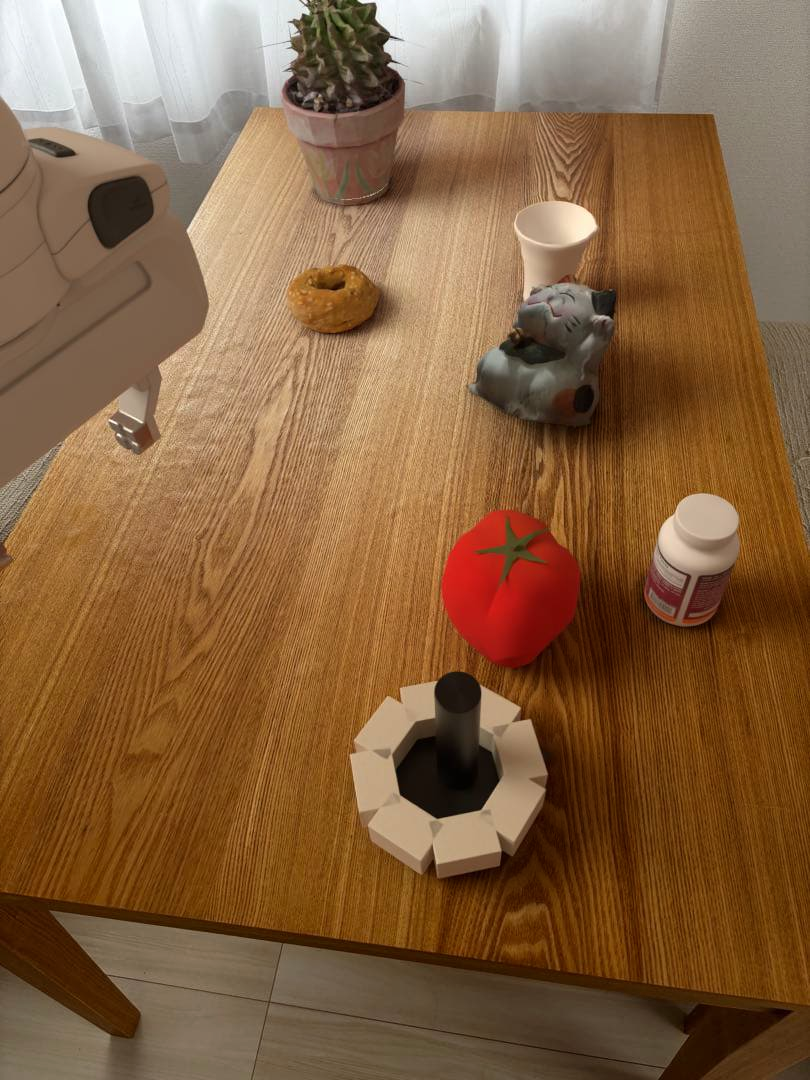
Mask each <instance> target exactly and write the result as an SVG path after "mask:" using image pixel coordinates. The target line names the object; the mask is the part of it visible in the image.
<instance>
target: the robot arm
mask: <svg viewBox="0 0 810 1080" xmlns="http://www.w3.org/2000/svg"><path fill="white" fill-rule="evenodd" d="M21 123H22V122H20V120H19V118H18V117H17V115H16V114H15V112H14V111H13V109H12V108H11V107H10V106H9V104H8V103H7V102H6V101H5V99H4V98H3V96H2V95H1V94H0V490H1V489H3V488H4V487H5V486H7V485H8V484H10V482H12V481H13V480H14V479H15V478H16V477H18V476H20V475H21V474H22V473H23V472H25V471H26V470H28V468H30V467H31V466H32V465H33V464H35V463H36V462H37V461H38V460H40V459H41V458H43V457H44V456H45V455H46V454H48V452H51V450H53V449H54V448H55V447H56V446H58V445H59V444H60V443H62V442H63V441H64V440H65V439H67V438H68V437H70V435H72V434H73V433H75V432H76V431H77V430H78V429H79V428H81V427H82V426H83V425H84V424H86V423H87V422H89V420H91V419H92V418H94V417H95V416H96V415H97V414H98V413H100V412H101V411H102V410H104V409H105V408H106V407H108V406H109V405H110V404H111V403H112V402H114V401H115V400H117V399H119V400H118V401H119V402H118V410H117V411H116V412H115V413H114V414H113V415H112V416H110V417H109V418H107V422H108V424H109V427H110V428H111V430H113V432H114V437H115V440H116V441H117V443H118V444H119V446H121V448H123V449H124V450H125V449H126V450H127V451H128V450H131V451H132V453H133V454H134V455H136V456H140V455H141V454H144V452H145V451H147V450H148V449H149V448H151V447H152V446H153V445H154V444H155V443H156V442H158V441H159V440H160V439H161V433H160V430H159V427H158V425H157V422H156V419H155V415H156V411H157V406H158V402H159V401H158V400H159V395H160V390H161V387H162V386H161V385H162V381H163V377H162V374H161V371H160V368H159V366H160V365H161V364H162V363H164V362H165V361H166V360H168V359H169V358H170V357H171V356H173V355H174V354H175V353H176V352H178V351H179V350H180V349H182V348H183V347H184V346H185V345H187V344H188V343H189V342H191V341H192V340H193V339H195V338H196V337H197V336H198V335H199V334H201V333H202V331H203V329H204V326H205V323H206V320H207V317H208V312H209V308H210V300H209V295H208V290H207V285H206V282H205V278H204V275H203V273H202V269H201V267H200V262H199V260H198V256H197V254H196V251H195V249H194V246H193V243H192V241H191V238H190V236H189V233H188V231H187V229H186V228H185V225H184V224H183V223H182V221H181V220H180V219H179V217H177V216H176V214H174V213H172V212H170V211H168V209H169V207H170V203H171V194H170V193H171V192H170V187H169V182H168V179H167V175H166V172H165V170H164V168H163V167H162V166H161V165H160V164H158V163H156V162H155V161H153V160H151V159H149V158H147V157H145V156H142V155H140V154H138V153H136V152H135V151H132V150H129V149H127V148H125V147H122V146H120V145H118V144H115V143H112V142H109V141H106V140H103V139H101V138H98V137H94V136H91V135H88V134H85V133H81V132H77V131H73V130H69V129H66V128H61V127H56V126H40V127H32V128H24V127H23V125H22V124H21ZM7 551H8V549H7V547H6V546H5V544H4V543H3V542H2V540H0V574H1V573H2V572H4V571H5V569H7V568H8V567H9V566H10V565H11V564H12V563H13V562H14V558H13V557H12V555H11V554H9V553H8V552H7Z"/></svg>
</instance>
